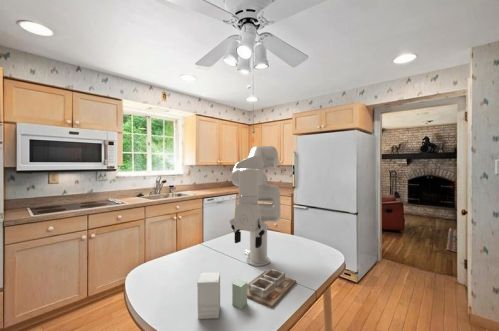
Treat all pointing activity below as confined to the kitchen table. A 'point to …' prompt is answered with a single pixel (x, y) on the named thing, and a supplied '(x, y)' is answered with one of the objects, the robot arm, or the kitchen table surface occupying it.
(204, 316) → the supplement box
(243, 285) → the plug
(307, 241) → the kitchen table surface
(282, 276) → the socket board
